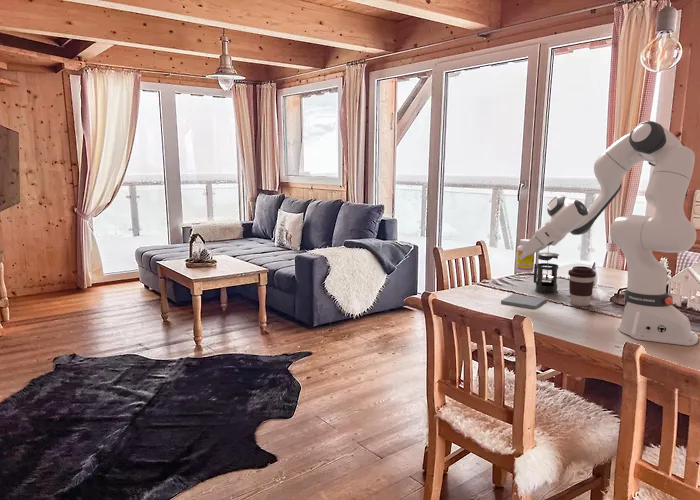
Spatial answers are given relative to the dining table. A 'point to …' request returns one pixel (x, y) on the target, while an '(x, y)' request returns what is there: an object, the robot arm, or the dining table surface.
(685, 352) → the dining table surface
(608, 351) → the dining table surface
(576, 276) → the coffee cup
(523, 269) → the supplement bottle
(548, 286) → the french press
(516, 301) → the mat
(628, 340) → the dining table surface
